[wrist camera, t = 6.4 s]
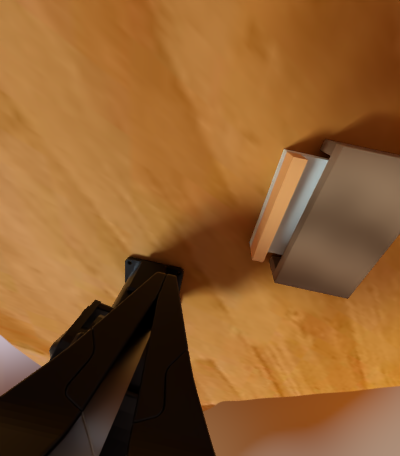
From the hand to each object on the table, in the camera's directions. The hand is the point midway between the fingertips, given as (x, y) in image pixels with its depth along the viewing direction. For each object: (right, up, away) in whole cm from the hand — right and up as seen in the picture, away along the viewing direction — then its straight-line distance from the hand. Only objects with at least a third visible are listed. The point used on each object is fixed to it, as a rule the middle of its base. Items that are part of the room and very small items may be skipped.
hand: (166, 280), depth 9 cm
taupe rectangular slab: (+13, +3, +10) cm, 17 cm away
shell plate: (+11, +4, +10) cm, 15 cm away
